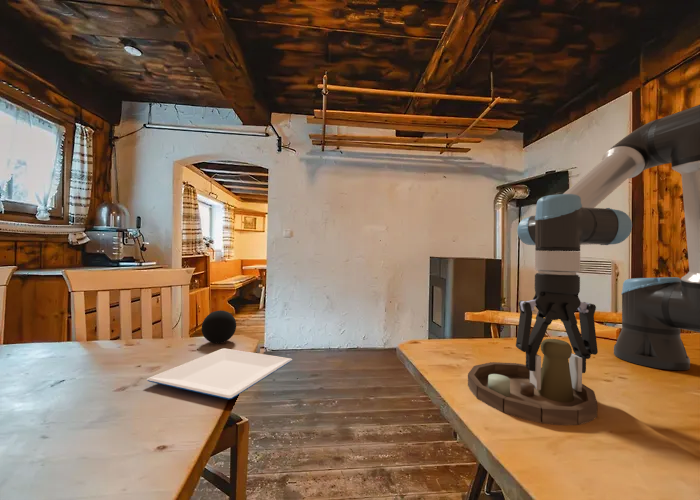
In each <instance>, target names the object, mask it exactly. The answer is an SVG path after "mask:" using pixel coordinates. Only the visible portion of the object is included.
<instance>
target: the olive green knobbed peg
mask: <svg viewBox="0 0 700 500" xmlns="http://www.w3.org/2000/svg"><path fill="white" fill-rule="evenodd" d="M540 350H541V353H542V355H543V358H542V362H541V368H542V369H541V390H538V393H539V394H540V395H541V396H543V397H545V398H547V399H550V400H553V401H557V402H567V403H568V402H572V401H574V395H573V388H572V381H571V374H570V367H569V358H570V357H571V354H573V348H572V346H571V343H569V342H567V341H565V340H561V339H556V338H545V339H543V340H542V342H541V345H540Z"/></svg>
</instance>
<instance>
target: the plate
mask: <svg viewBox="0 0 700 500" xmlns="http://www.w3.org/2000/svg"><path fill="white" fill-rule="evenodd" d="M292 361H293V359H292V358H290V357H284V356H283V357H282V356H276V355H270V354H265V353H258V352H257V353H256V352H253V351H251V352H250V351H244V350H238V349H232V348H231V349H230V348H225V347H224V348H221V349H218V350H215V351H213V352H210V353H208V354H205V355H202V356H200V357H197V358H195V359H192V360H190V361H187V362H184V363H182V364H181V365H178V366H175V367H172V368H169V369H167V370H164V371H162V372H160V373H157V374H155V375H152V376H150V377H148V378H146V381H147V382H150V383H153V384H158V385H162V386H163V385H164V386H167V387H172V388H176V389H180V390H186V391H189V392H194V393H199V394H202V395H208V396H210V397H211V396H212V397H215V398H216V397H217V398H221V399H225V400H232V399H234V398H236V397H237V396H239V395H240V394H242V393H243V392H245V391H247V390H248V389H250V388H251V387H253V386H255V385H256V384H257V383H259V382H261V381H262V380H264V379H266V378H267V377H269V376H270V375H272V374H274V373H275V372H277V371H278V370H279V369H281V368H283V367H284V366H286V365H288V364H290V363H291V362H292Z"/></svg>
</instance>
